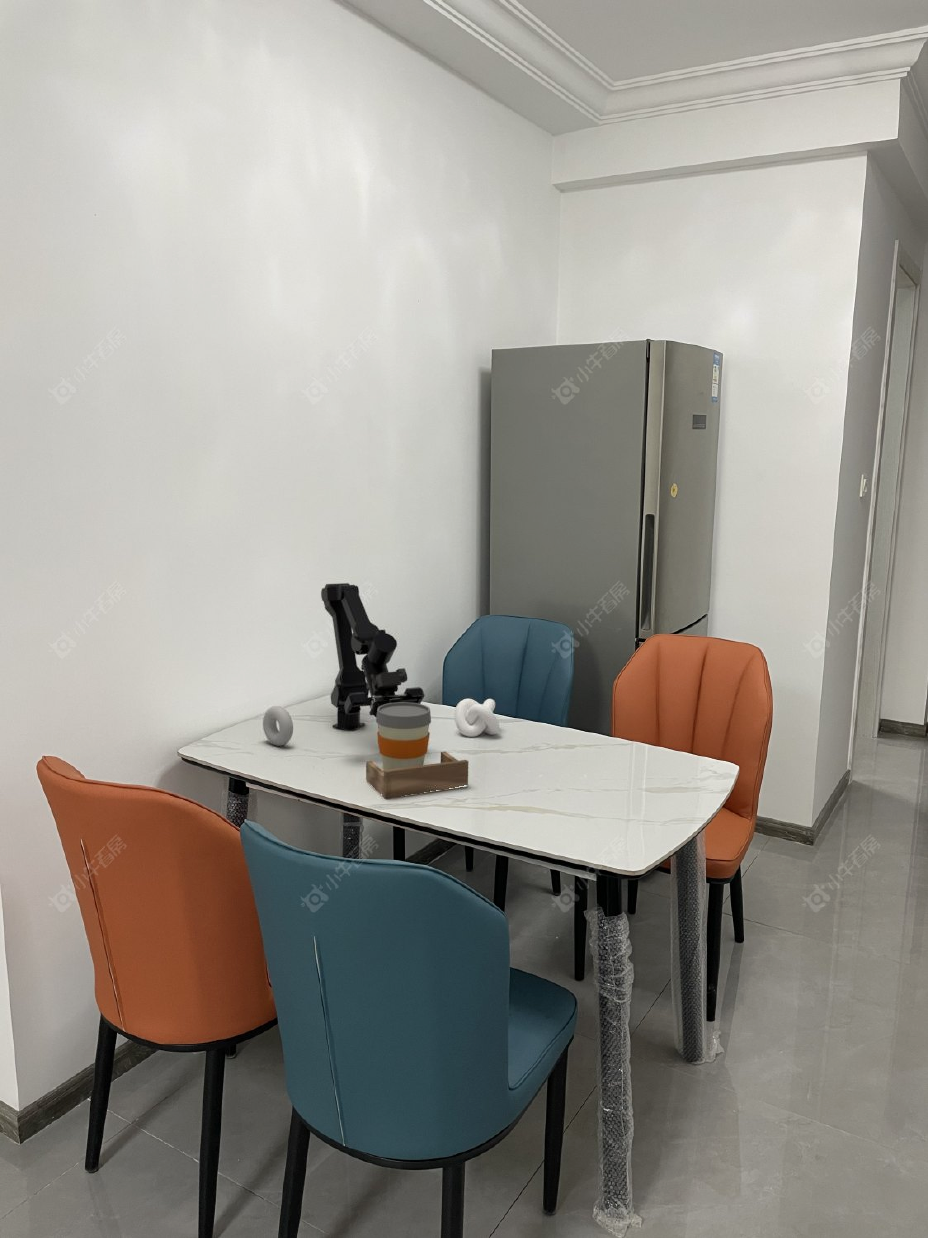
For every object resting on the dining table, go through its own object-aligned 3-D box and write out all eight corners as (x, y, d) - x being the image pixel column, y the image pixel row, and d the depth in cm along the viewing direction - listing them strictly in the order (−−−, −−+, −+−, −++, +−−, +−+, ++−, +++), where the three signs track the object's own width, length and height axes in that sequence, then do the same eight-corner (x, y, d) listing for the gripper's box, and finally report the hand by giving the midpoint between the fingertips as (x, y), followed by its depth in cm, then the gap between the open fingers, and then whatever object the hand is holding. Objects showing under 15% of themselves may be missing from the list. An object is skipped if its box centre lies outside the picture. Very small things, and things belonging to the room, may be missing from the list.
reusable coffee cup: (364, 771, 217) (364, 708, 214) (404, 759, 226) (405, 699, 223) (401, 785, 208) (402, 720, 205) (441, 772, 217) (442, 710, 215)
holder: (366, 780, 211) (366, 754, 210) (445, 770, 219) (445, 745, 218) (385, 799, 200) (385, 772, 199) (467, 787, 208) (468, 761, 207)
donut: (296, 748, 232) (296, 709, 230) (285, 751, 230) (284, 711, 228) (271, 739, 239) (270, 701, 237) (260, 742, 236) (259, 703, 234)
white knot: (459, 741, 241) (460, 707, 239) (449, 728, 252) (450, 695, 251) (502, 739, 244) (503, 706, 242) (490, 726, 255) (491, 694, 253)
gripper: (348, 660, 219) (363, 718, 211) (422, 654, 227) (440, 710, 219) (337, 685, 227) (352, 742, 219) (409, 679, 235) (426, 733, 227)
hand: (393, 731), depth 221 cm, fingers closed, pressing on reusable coffee cup
